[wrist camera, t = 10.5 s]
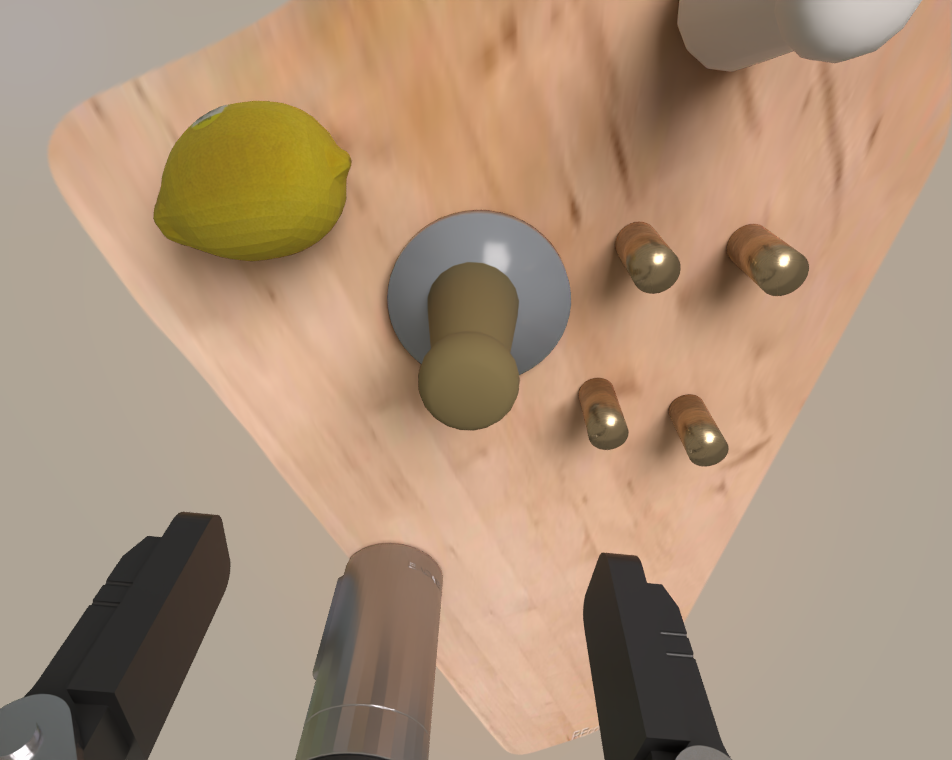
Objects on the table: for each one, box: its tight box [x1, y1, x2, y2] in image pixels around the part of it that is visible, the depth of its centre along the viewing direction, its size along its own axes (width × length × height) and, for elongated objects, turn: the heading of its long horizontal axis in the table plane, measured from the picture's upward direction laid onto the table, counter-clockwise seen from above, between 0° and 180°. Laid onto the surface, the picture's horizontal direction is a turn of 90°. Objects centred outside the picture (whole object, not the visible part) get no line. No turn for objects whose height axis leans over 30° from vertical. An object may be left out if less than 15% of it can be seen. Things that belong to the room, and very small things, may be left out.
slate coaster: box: [387, 210, 571, 375], centre depth 37 cm, size 12×12×1 cm
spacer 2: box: [615, 222, 680, 294], centre depth 33 cm, size 3×3×5 cm
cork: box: [418, 262, 520, 430], centre depth 32 cm, size 6×6×11 cm
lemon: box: [153, 101, 352, 261], centre depth 30 cm, size 11×8×8 cm
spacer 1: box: [579, 378, 628, 450], centre depth 39 cm, size 3×3×5 cm
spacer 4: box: [727, 224, 809, 296], centre depth 33 cm, size 3×3×5 cm
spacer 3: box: [669, 394, 728, 466], centre depth 40 cm, size 3×3×5 cm
